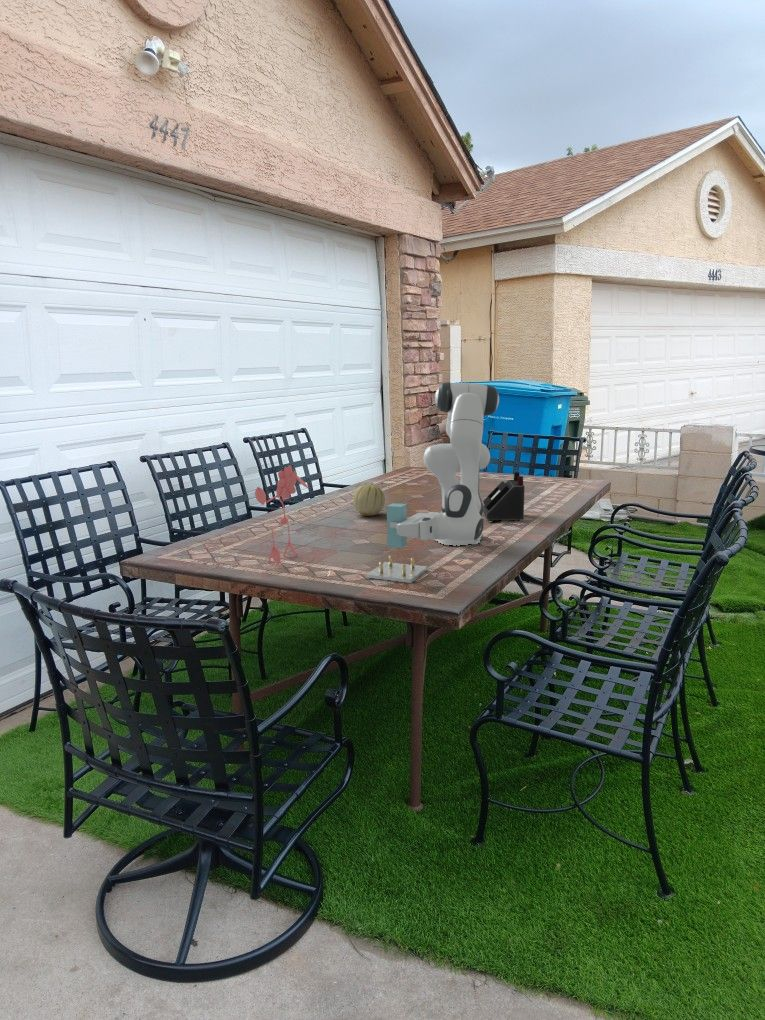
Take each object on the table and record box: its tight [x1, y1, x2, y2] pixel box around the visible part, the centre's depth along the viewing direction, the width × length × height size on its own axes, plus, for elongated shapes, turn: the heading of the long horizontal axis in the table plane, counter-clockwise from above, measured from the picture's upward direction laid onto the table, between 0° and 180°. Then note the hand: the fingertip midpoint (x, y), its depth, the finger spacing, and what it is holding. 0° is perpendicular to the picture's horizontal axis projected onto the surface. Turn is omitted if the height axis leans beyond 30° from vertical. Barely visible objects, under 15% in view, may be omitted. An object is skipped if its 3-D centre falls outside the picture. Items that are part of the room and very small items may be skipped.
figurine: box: [254, 464, 314, 567], centre depth 261 cm, size 15×26×35 cm, turn 151°
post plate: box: [365, 555, 428, 584], centre depth 248 cm, size 16×16×5 cm
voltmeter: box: [482, 471, 526, 523], centre depth 324 cm, size 16×16×20 cm
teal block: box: [386, 502, 408, 549], centre depth 244 cm, size 5×5×14 cm
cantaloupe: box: [352, 482, 386, 517], centre depth 335 cm, size 15×15×15 cm
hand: (394, 522), depth 244 cm, fingers closed on teal block, 5 cm apart
